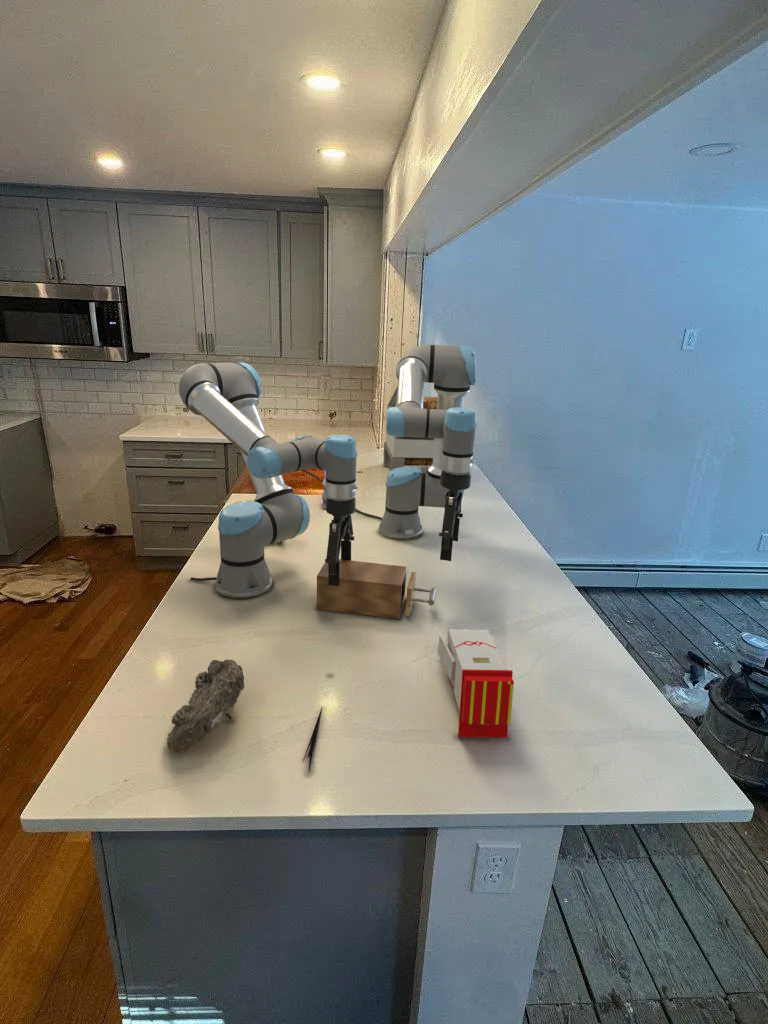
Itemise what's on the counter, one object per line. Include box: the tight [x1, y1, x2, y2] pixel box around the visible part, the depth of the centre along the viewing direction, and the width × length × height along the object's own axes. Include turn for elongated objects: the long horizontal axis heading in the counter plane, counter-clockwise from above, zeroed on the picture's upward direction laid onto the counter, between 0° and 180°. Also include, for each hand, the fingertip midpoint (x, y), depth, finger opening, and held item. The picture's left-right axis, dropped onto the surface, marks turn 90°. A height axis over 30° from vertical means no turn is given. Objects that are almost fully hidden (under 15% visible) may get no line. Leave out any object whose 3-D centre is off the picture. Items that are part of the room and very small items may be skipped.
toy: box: [437, 628, 515, 738], centre depth 117 cm, size 12×13×30 cm
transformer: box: [383, 385, 438, 472], centre depth 268 cm, size 34×33×41 cm
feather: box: [301, 673, 332, 771], centre depth 108 cm, size 2×28×2 cm
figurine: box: [321, 470, 327, 510], centre depth 222 cm, size 9×10×15 cm
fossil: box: [166, 658, 245, 754], centre depth 106 cm, size 22×10×15 cm
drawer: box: [400, 571, 438, 617], centre depth 149 cm, size 26×10×8 cm, turn 81°
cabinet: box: [316, 558, 408, 620], centre depth 150 cm, size 22×11×10 cm, turn 81°
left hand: (340, 573), depth 150 cm, fingers open, 13 cm apart
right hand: (449, 549), depth 148 cm, fingers open, 13 cm apart
